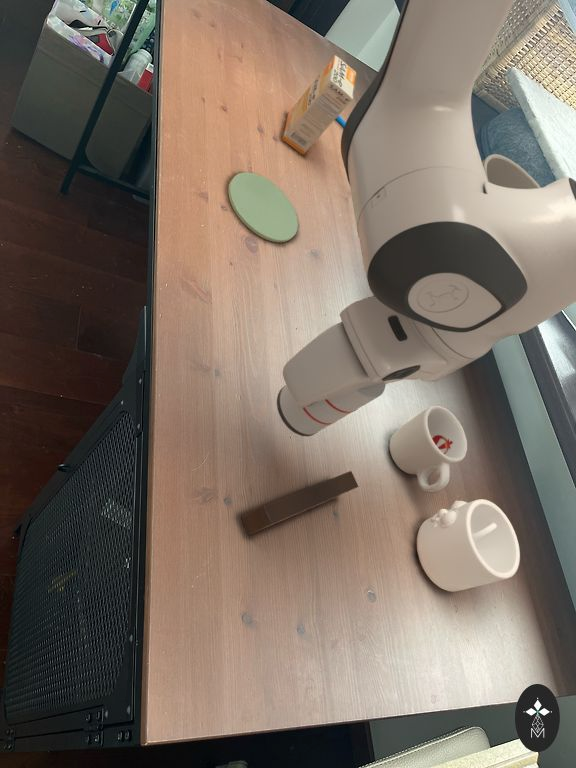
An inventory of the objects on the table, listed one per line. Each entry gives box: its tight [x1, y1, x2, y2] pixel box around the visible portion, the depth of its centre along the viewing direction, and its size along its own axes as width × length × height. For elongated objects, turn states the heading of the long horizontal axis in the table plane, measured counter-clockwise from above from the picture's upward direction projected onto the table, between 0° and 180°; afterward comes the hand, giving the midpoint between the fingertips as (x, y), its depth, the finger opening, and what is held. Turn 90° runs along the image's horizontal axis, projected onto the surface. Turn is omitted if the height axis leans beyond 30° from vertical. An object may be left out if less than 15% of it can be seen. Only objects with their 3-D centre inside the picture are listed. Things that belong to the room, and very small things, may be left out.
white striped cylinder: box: [276, 383, 387, 438], centre depth 63 cm, size 6×11×11 cm
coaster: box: [227, 171, 299, 243], centre depth 91 cm, size 12×12×1 cm
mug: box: [416, 498, 521, 592], centre depth 79 cm, size 12×10×9 cm
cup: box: [389, 405, 468, 493], centre depth 82 cm, size 11×8×8 cm
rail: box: [240, 470, 359, 536], centre depth 68 cm, size 14×2×4 cm, turn 120°
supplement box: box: [281, 54, 357, 156], centre depth 101 cm, size 8×5×13 cm, turn 171°
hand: (324, 394), depth 63 cm, fingers closed on white striped cylinder, 6 cm apart
